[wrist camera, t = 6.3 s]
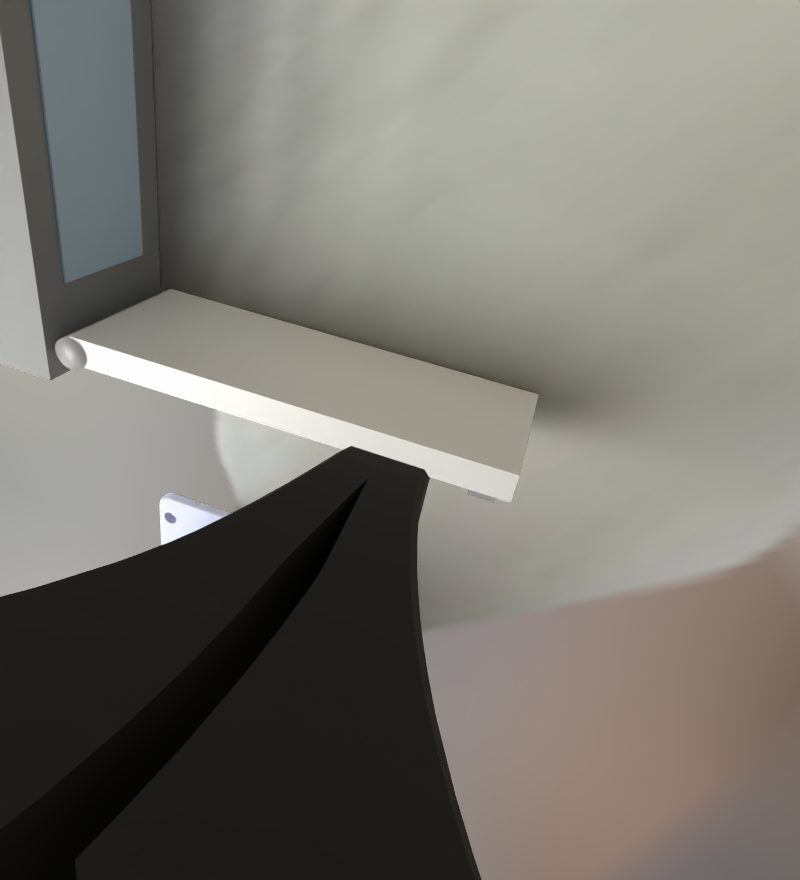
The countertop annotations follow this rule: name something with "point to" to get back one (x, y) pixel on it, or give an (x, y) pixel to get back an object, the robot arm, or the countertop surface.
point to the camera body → (74, 171)
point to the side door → (315, 387)
